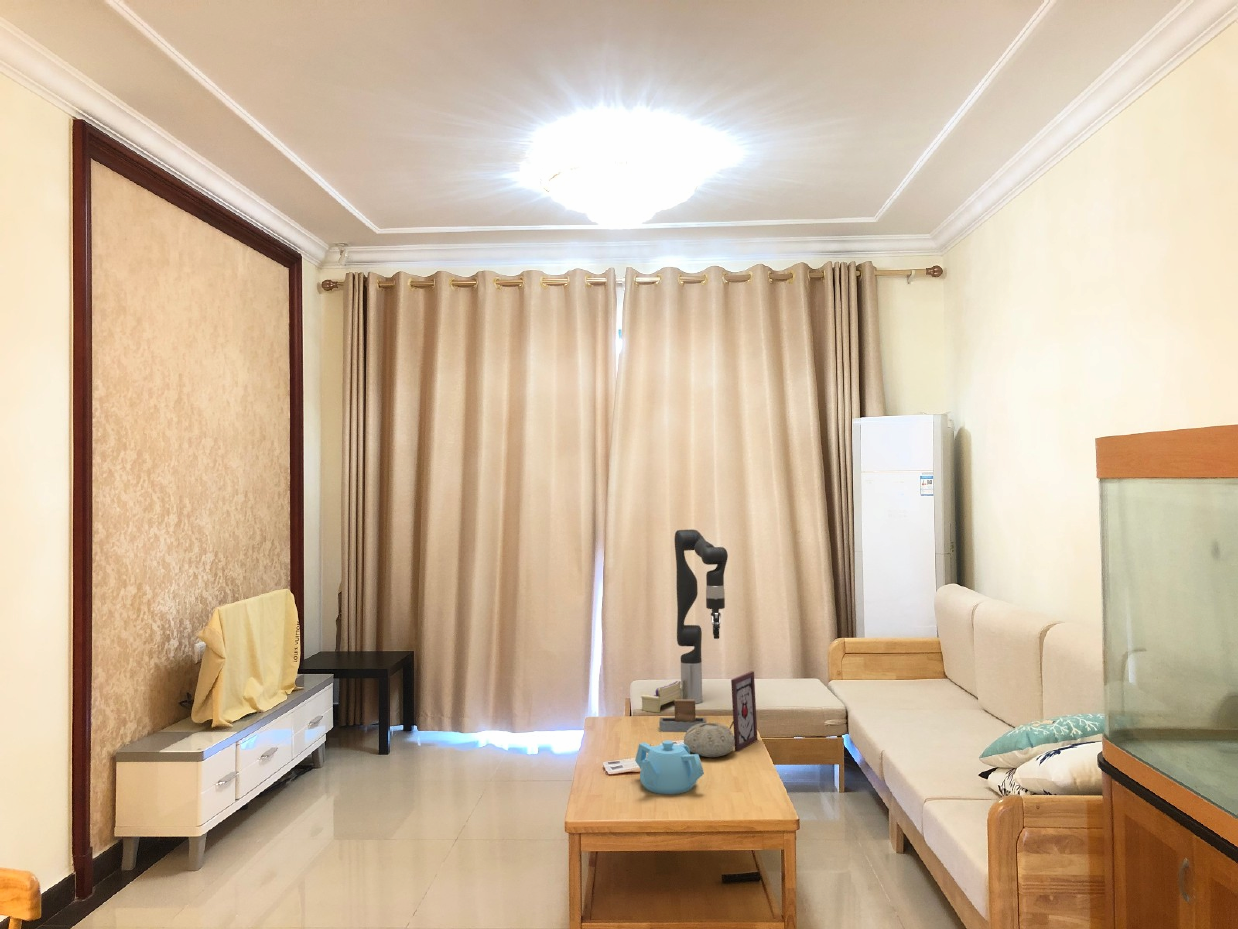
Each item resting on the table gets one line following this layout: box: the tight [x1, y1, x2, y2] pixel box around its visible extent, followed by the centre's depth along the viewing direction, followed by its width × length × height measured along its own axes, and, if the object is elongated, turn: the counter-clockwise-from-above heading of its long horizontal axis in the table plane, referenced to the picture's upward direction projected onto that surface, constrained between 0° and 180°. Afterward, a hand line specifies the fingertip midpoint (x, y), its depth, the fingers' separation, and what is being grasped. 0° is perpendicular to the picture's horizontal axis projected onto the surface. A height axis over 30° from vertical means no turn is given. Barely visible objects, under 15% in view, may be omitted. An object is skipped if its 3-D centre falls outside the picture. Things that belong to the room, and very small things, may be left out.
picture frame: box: [728, 670, 758, 753], centre depth 307 cm, size 17×10×25 cm, turn 146°
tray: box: [658, 716, 707, 733], centre depth 327 cm, size 7×18×4 cm, turn 86°
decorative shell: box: [683, 721, 735, 758], centre depth 295 cm, size 18×18×10 cm
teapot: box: [634, 740, 705, 795], centre depth 263 cm, size 19×19×14 cm
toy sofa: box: [640, 680, 682, 714], centre depth 362 cm, size 21×9×10 cm, turn 147°
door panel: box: [674, 699, 697, 722], centre depth 327 cm, size 3×8×10 cm, turn 86°
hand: (716, 636), depth 341 cm, fingers open, 8 cm apart
